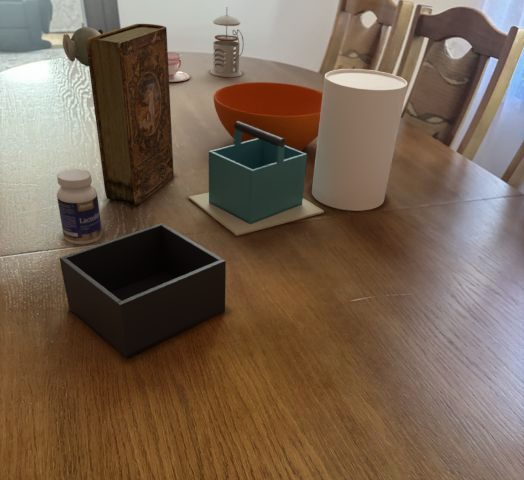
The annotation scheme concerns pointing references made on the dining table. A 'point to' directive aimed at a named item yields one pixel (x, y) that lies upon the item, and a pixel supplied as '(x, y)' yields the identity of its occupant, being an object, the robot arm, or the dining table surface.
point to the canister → (357, 137)
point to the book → (132, 109)
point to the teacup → (175, 68)
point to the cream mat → (243, 227)
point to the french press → (226, 49)
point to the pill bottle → (78, 207)
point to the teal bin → (256, 175)
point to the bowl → (271, 110)
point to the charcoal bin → (144, 287)
